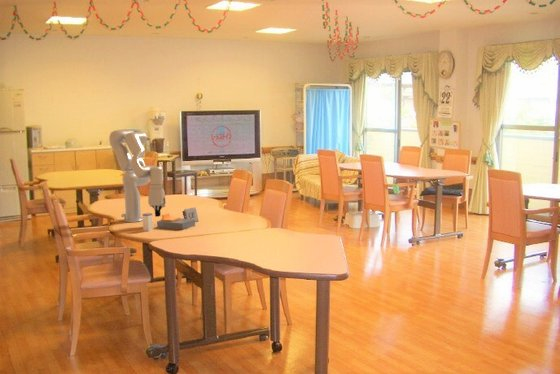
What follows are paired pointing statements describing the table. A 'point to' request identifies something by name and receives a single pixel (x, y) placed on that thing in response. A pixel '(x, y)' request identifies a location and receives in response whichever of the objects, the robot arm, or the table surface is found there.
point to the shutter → (168, 218)
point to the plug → (147, 222)
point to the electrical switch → (190, 214)
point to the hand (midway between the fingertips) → (157, 216)
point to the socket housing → (176, 224)
